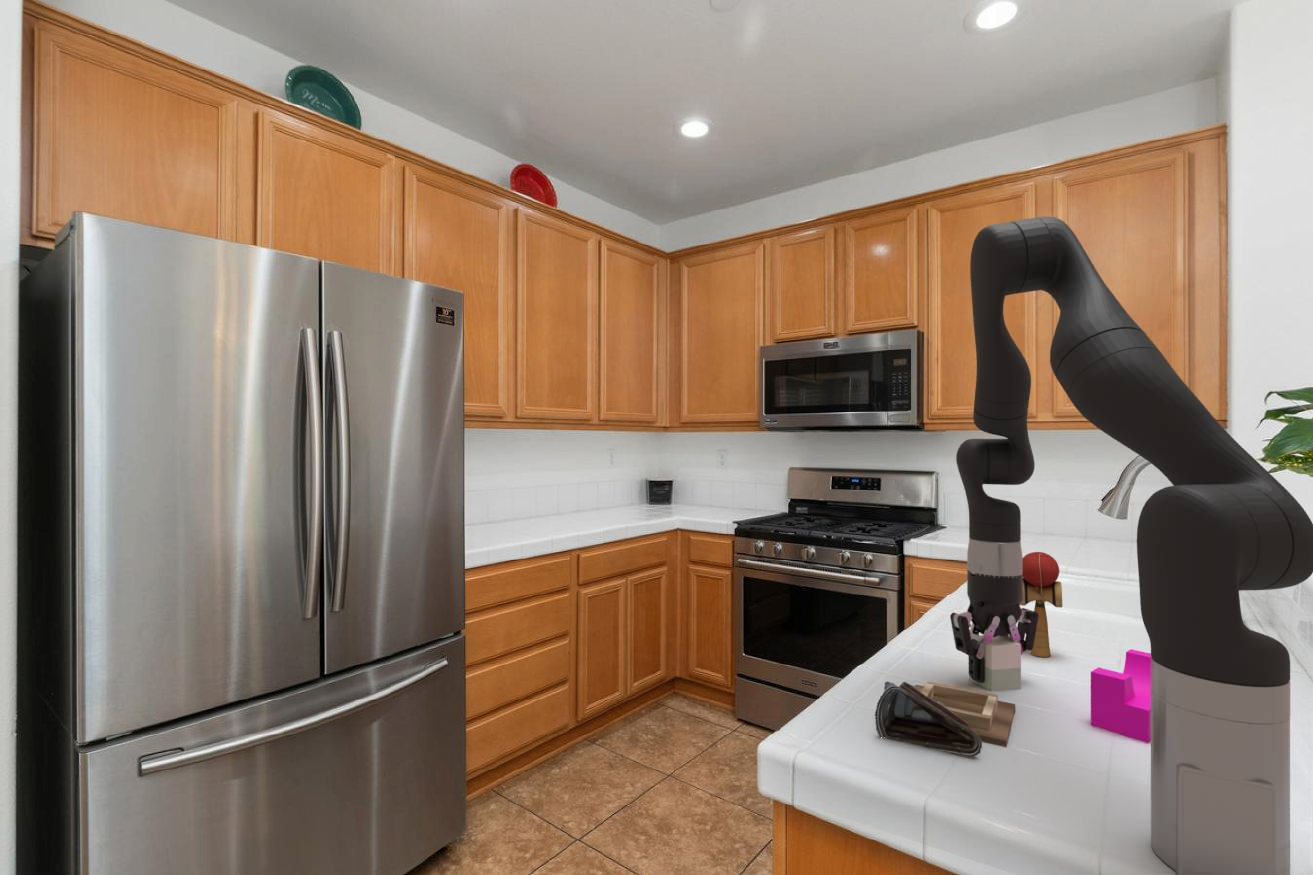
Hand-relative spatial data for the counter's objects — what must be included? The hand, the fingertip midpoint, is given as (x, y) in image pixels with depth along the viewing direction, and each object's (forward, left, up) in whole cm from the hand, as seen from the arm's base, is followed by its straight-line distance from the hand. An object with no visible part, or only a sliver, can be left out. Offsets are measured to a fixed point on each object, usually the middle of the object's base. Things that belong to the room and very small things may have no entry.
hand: (994, 678), depth 99 cm
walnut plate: (-16, +3, -1) cm, 16 cm away
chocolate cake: (-25, +1, -2) cm, 25 cm away
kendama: (+20, -5, -1) cm, 20 cm away
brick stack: (0, 0, -1) cm, 1 cm away
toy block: (-3, -18, -1) cm, 18 cm away
